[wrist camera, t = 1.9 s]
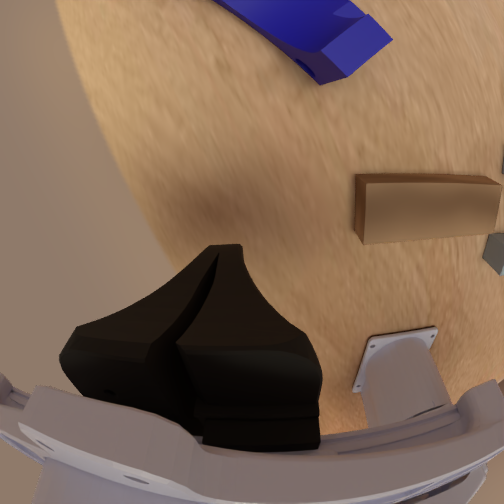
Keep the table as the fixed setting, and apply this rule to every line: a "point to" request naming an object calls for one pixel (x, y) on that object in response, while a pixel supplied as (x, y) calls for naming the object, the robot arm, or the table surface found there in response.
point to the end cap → (495, 250)
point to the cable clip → (315, 33)
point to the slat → (424, 206)
